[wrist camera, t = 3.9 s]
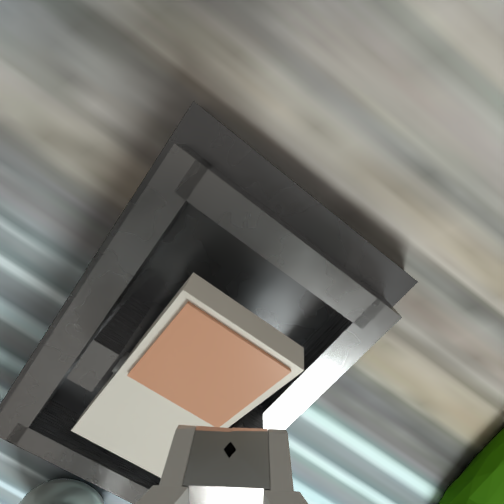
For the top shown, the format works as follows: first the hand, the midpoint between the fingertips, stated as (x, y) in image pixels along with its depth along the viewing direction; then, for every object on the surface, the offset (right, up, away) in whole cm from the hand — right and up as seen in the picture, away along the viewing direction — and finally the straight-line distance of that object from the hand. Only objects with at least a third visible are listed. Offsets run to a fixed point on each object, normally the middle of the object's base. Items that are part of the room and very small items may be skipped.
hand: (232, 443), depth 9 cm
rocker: (-3, -1, +6) cm, 7 cm away
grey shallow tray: (-3, 0, +10) cm, 11 cm away
